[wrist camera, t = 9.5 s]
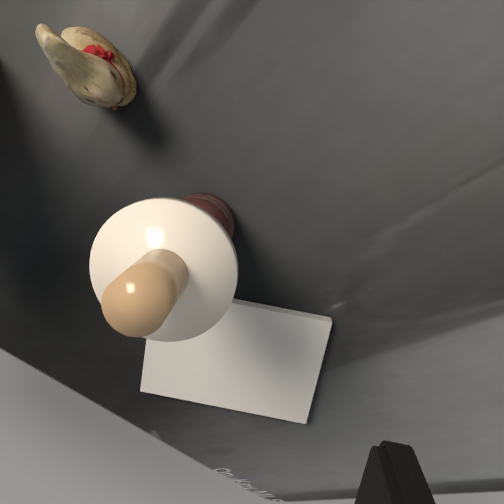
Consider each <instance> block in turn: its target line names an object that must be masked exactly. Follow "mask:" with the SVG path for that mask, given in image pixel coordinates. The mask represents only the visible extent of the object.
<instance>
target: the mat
mask: <svg viewBox="0 0 504 504" xmlns="http://www.w3.org/2000/svg"><path fill="white" fill-rule="evenodd" d="M331 326H332V320H331V317H326V316H321V315H315V314H310V313H305V312H300V311H295V310H290V309H285V308H280V307H275V306H269V305H264V304H259V303H254V302H249V301H244V300H239V299H234V298H233V300H232V302H231V304H230V306H229V308H228V310H227V312H226V313H225V315H224V316H223V317H222V318H221V320H220V321H219V322H218V323H217V324H216V325H214V326H213V327H212V328H211V329H209V330H208V331H206V332H205V333H203V334H201V335H199V336H197V337H194V338H191V339H188V340H183V341H176V342H161V341H154V340H150V339H147V340H146V348H145V356H144V364H143V373H142V381H141V389H140V391H142V392H147V393H152V394H157V395H162V396H167V397H172V398H177V399H182V400H187V401H192V402H197V403H202V404H207V405H212V406H217V407H222V408H227V409H233V410H238V411H243V412H248V413H253V414H258V415H263V416H268V417H273V418H278V419H283V420H288V421H293V422H298V423H303V424H306V422H307V418H308V414H309V410H310V406H311V402H312V399H313V395H314V391H315V387H316V383H317V379H318V376H319V372H320V368H321V364H322V360H323V356H324V353H325V349H326V345H327V341H328V337H329V333H330V330H331Z"/></svg>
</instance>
